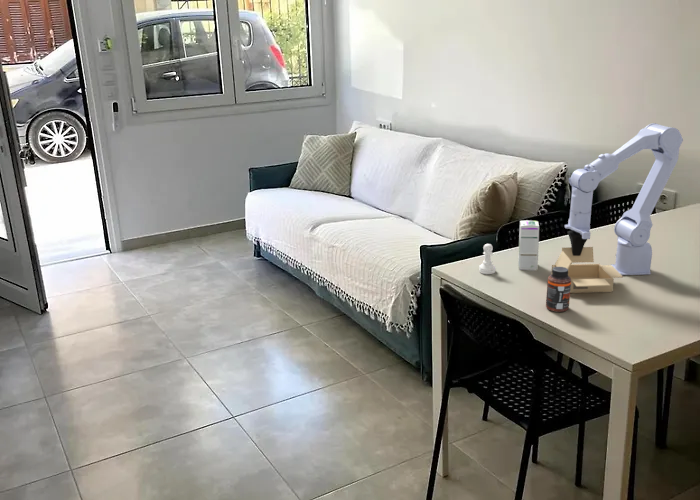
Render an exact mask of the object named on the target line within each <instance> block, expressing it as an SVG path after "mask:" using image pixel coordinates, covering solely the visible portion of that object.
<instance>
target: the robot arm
mask: <svg viewBox="0 0 700 500" xmlns="http://www.w3.org/2000/svg"><path fill="white" fill-rule="evenodd" d="M683 138H684V137H682V134H681V132H680V130H679V129H678V128H676V127H674V126H673V127H672V126H671V127H670V126H666V125H662V124H659V123H656V122H655V123H654V122H653V123H652V122H651V123H649V124H647V125H646V126H645V127H643V128H641V129H640V130H639V131H638V132H637V134H636V135H634V136H633V137H632V138H631V139H629V140H628V141H627V142H626V143H624V144H623V145H622V146H620V147H619V148H617V149H616V150H615V151H613V152H612V153H608V152H607V153H604V154H603V153H601V154H599V155H598V156H597V157H598V158H596V159H595V160H593V161H592V162H590V163H589V164H585V165H584V166H583V168H577V169H575V170H574V171H573V172H572V174H571V176H570V177H568V183H569V185H570V186H571V199H570V209H569V218H568V221H567V222H568V223H567V224H564V228H565V229H567V230H568V229H569V231H567V235H568V237H569V241H570V246H571V247H572V254H573V256H580V255H581V252H582V249H583V247H585V245H586V242H587V241H588V240H590V239H591V232H590V230H591V225H590V224H591V218H592V217H591V215H592V204H593V196H594V195H593V194H594V191H595V190H596V189H597V187H598V186H599V183H600V182H601V181H603V180H604V179H606V178H607V177H609V176H610V175H611V174H613V173H614V172H616V171H617V170H618V169H619V165H620V164H621V163H623V162H624V161H626V160H628V159H630V158H631V157H633V156H635V155H636V154H638V153H640V152H641V151H642V150H650V151H652V154H653V157H654V159H655V160H654V162H653V165H651V166H652V167H651V168H650V170H649V173H648V174H647V176H646V179H645V181H644V183H642V184H643V185H642V187H641V189H640V191H639V193H638V195H637V197H636V198H635V201H634V203H633V205H632V207H631V208H630V209H628V210H626V211H625V212H623V214H622V216H621V217H620V218H619V219H618V220H617V221H616V223H615V225H614V227H613V231H614V234H615V235H616V236H617V246H616V254H615V263H614V264H610V265H612V266H613V267H614V268H615V269H616V270H617V271H618V272H619V273H620V274H621V275H622V276H636V275H637V276H640V275H641V276H642V275H644V276H645V275H651V274H652V273H651V267H652V266H651V264H652V257H653V249H652V244H650V243H649V242H648V241H649V240H650V238H651V231H652V230H651V229H652V227H653V225H654V224H653V221H652V219H651V214H652V213H653V211H654V209H655V207H656V206H657V203H658V201H659V199H660V197H661V194H662V193H663V191H664V188H665V187H666V185H667V183H668V181H669V179H670V177H671V175H672V174H673V173H672V172H673V171H674V169H675V167H676V165H677V163H678V160H679V155H680V147H681V146H682V143H683V142H684V139H683Z"/></svg>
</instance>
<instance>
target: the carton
mask: <svg viewBox="0 0 700 500" xmlns="http://www.w3.org/2000/svg"><path fill="white" fill-rule="evenodd" d="M554 267H557V266H556V265H555V264H551V271H550V273H551V274H552V269H553V268H554ZM551 274H550V275H551ZM568 276H569V277H570V278H571V289H570V294H583V293H584V294H585V293H586V294H589V293H591V294H592V293H613V290H614V280H615V279H616V278H617V279H618V278H624V277H623V276H624V275H621V274H620V273H619V272H618V271H617V270H616V269H615V268H614V267H613V266H612V265H611V264H608V265H607V264H606V265H604V264H603V265H601V264H600V263H581V264H580V263H578V264H577V263H574V264H573V263H572V264H571V266H570V267H569V269H568Z"/></svg>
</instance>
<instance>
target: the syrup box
mask: <svg viewBox="0 0 700 500" xmlns="http://www.w3.org/2000/svg"><path fill="white" fill-rule="evenodd" d="M539 224H540V223H539V221H538V220H532V219H530V220H528V219H526V220H519V232H518V233H519V235H518V237H519V238H518V258H517V259H518V260H517V262H518V263H517V264H518V265H517V266H518V270H520V271H538V266H539V265H538V263H539V245H540V225H539Z"/></svg>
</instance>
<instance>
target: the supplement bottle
mask: <svg viewBox="0 0 700 500" xmlns="http://www.w3.org/2000/svg"><path fill="white" fill-rule="evenodd" d="M551 271H552V274H550V275H548V276H547V286H546V297H545V298H546V301H545V307H546V309H547V310H548V311H551V312H555V313H563V312H566V311H568V310H569V307H570V298H571V293H570V289H571V278H570V277H569V276H568V269H567V268H565V267H554V268H553V269H552V268H551Z"/></svg>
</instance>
